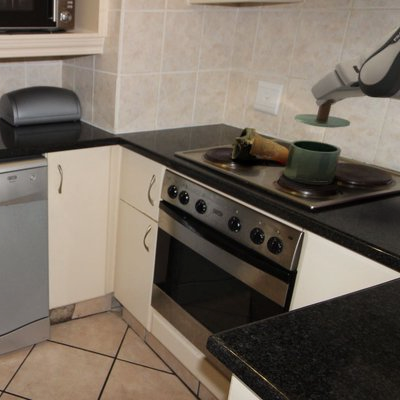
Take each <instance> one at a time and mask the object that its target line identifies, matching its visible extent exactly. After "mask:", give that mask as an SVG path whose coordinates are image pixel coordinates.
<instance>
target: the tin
mask: <svg viewBox="0 0 400 400" xmlns="http://www.w3.org/2000/svg"><path fill="white" fill-rule="evenodd" d="M288 150H289V153H288V157H287V162H286V163H285V167H284V171H283V175H284V177H285V178H287V180H290V181H292V182H293V181H294V182H296V183H299V184H304V185H310V186H328V185H331V184H332V183H333V182H334V180H335V179H334V178H335V175H336V170H337V168H338V163H339V160H340V157H341V152H342V150H341V148H340V147H338V146H336V145H334V144H330V143H328V142H323V141H316V140H303V139H301V140H293V141H291V142H290V145H289V149H288ZM291 176H292V177H291ZM294 177H296V178H294ZM297 178H302V179H308V180H316V181H328V182H312V181H305V180H301V179H297Z"/></svg>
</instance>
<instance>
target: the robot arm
mask: <svg viewBox="0 0 400 400" xmlns="http://www.w3.org/2000/svg"><path fill="white" fill-rule="evenodd" d="M310 92H311V94H312V95H313V97H314V99H315V104H316V105H317V107H319V106H323V105H324V104H326V103H327V102H326V101H327V100H330V99H333V101H332V105H331V106H334V105H335V104H336V103H338V102H341V101H343V100H346V99H349V98H361V97H366V96H367V97H369V98H374V99H375V98H377V99H391V100H396V101H400V25H399V26H397V27H396V28H394V29H393V30H391V31H390V32H389V33H387V34H386V35H385V36H383V37H382V38H381V39H380V40H379V41H378V42H377V43H376V44H375V45H374V46H372V47H370V48H368V49H366V50H365V51H364V52H362V53H361V54H358V55H356V56H355V57H352V58H350V59H346V60H343V61H340V62H338V63H337V64H335V65H334V69H333V70H331V71H329V72H328V73H326V74H325V75H323V76H322V77H321V78H320V79H319V80H318V81H317V82H315V83H314V85H313V86H312V87H311V89H310Z"/></svg>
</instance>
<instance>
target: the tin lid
mask: <svg viewBox="0 0 400 400" xmlns="http://www.w3.org/2000/svg"><path fill="white" fill-rule="evenodd" d="M332 101H333V99H330V100H327V101H326V102H327V103H326V104H324V105H323V106H318V110H317V114H314V113H313V114H312V113H303V114H296V115H295V116H294V120H295V121H297V122H299V123H302V124H304V125H305V124H306V125H309V126H311V127H312V126H313V127H319V128H329V129H331V128H333V129H334V128H345V127H349V126H350V125H351V121H350V120H347V119H345V118H342V117H337V116H332V115H330V112H331V108H332V106H333V105H332Z"/></svg>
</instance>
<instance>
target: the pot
mask: <svg viewBox="0 0 400 400" xmlns="http://www.w3.org/2000/svg"><path fill="white" fill-rule="evenodd" d="M230 146H231V147H232V155H231V159H235V160H237V161H239V162H240V161H241V162H243V161H251V160H253V161H255V160H256V159H257V158H258V157H259V158H263V157H265V158H267V159H269V158H271V159H273V160H275V161H276V162H279V163H281V164H282V165H286V162H287V157H288V153H289V149H288V148H287V147H285V146H283V145H282V144H279V143H278V142H276V141H273V140H271V139H268V138H266V137H263V136H261V134H259V133H258V132H257V131H256V128H253V127H246V126H245V127H244V128H243V130H242V132H241V133H240V135H239V136H237V137H235V141H234V142H233V143H231V144H230Z"/></svg>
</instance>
